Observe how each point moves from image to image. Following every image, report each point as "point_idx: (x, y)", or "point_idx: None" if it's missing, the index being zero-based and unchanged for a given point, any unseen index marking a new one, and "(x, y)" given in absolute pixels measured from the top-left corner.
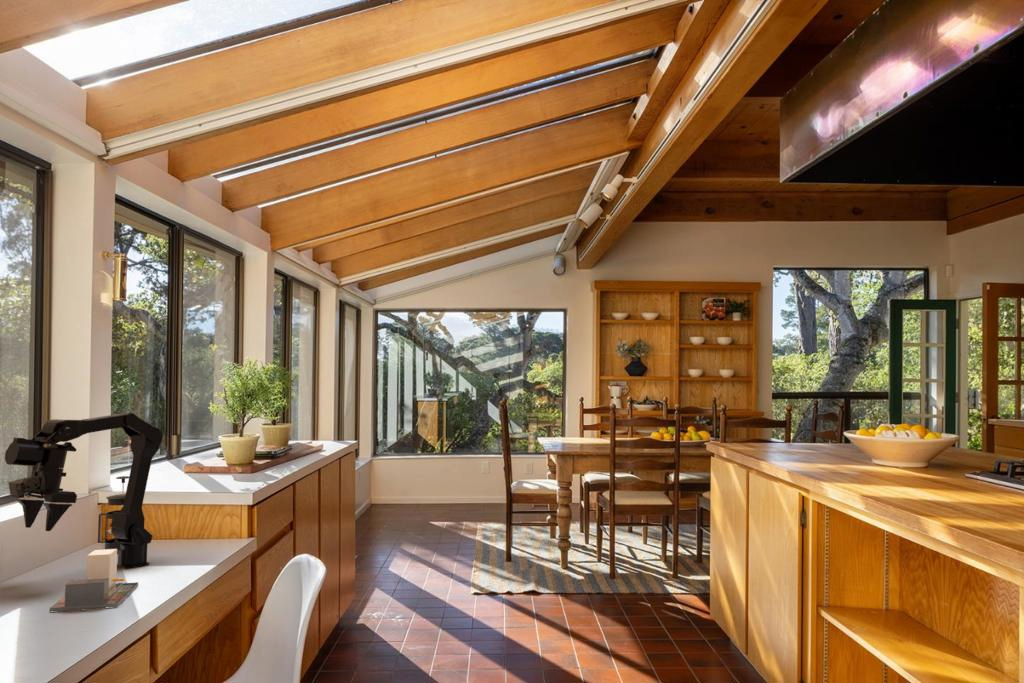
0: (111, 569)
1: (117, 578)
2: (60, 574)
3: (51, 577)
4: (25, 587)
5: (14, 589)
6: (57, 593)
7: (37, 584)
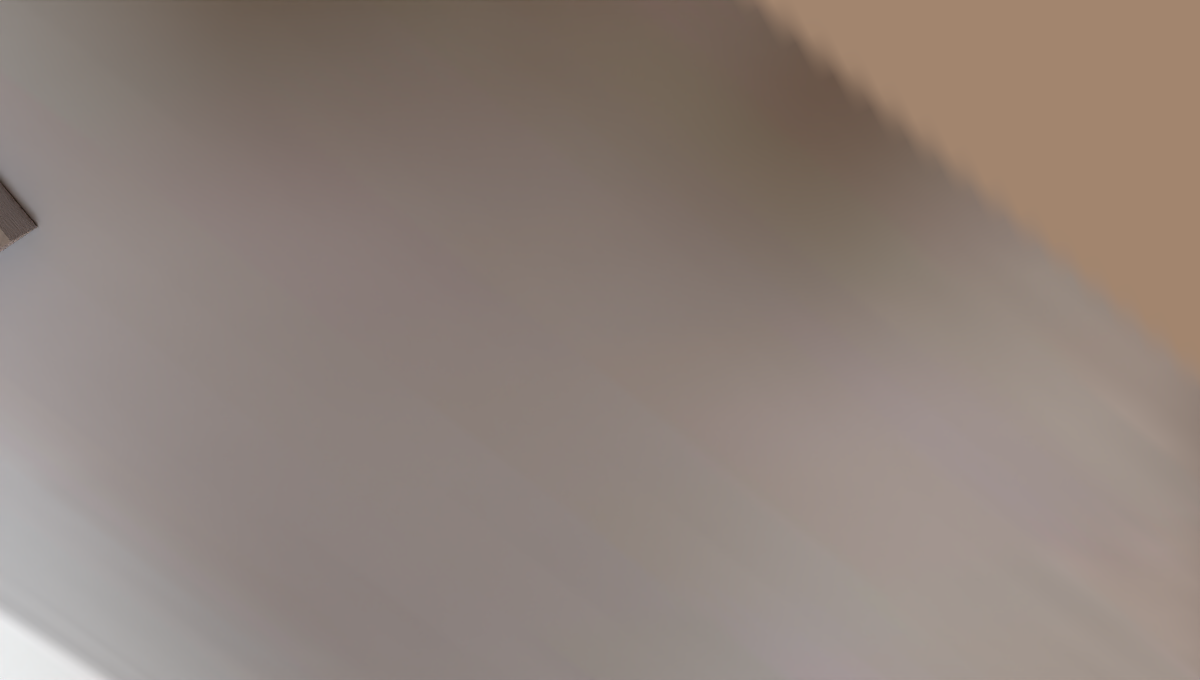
0: None
1: None
2: (777, 634)
3: (769, 537)
4: (693, 175)
5: (745, 74)
6: (111, 83)
7: (670, 303)
